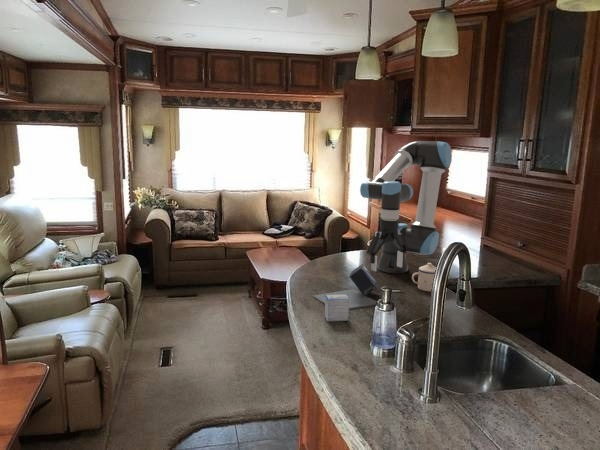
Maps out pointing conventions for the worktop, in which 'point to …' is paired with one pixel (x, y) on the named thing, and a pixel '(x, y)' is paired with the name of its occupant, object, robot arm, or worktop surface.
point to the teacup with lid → (425, 277)
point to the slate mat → (350, 298)
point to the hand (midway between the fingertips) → (386, 268)
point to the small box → (363, 280)
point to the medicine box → (336, 307)
